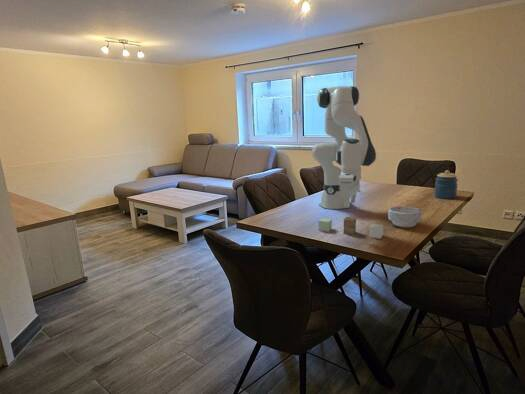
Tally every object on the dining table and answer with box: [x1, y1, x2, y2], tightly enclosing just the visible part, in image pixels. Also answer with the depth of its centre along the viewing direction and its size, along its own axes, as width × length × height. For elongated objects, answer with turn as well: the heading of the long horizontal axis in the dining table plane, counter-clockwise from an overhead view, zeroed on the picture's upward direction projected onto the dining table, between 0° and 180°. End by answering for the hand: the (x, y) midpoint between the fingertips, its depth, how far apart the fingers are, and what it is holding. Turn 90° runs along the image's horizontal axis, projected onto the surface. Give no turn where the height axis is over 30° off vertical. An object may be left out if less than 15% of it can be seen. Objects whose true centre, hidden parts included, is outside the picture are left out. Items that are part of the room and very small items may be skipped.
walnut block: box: [343, 216, 357, 236], centre depth 157 cm, size 4×4×7 cm
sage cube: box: [318, 217, 333, 233], centre depth 163 cm, size 5×5×5 cm
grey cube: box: [368, 223, 384, 240], centre depth 151 cm, size 5×5×5 cm
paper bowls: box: [387, 205, 423, 228], centre depth 165 cm, size 15×15×8 cm
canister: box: [433, 169, 459, 200], centre depth 216 cm, size 13×13×18 cm
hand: (350, 204), depth 155 cm, fingers open, 8 cm apart
